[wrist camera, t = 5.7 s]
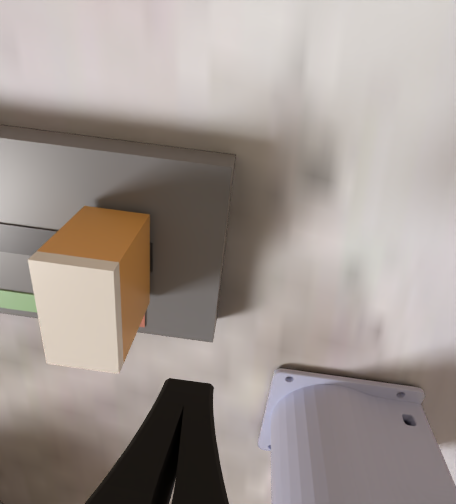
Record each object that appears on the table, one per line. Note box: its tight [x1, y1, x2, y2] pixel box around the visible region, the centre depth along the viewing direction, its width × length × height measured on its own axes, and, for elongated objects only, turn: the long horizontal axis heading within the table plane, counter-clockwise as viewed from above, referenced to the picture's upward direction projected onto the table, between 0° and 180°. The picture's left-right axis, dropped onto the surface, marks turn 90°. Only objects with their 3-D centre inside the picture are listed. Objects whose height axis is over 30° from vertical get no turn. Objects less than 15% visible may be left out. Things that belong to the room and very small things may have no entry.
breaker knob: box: [28, 206, 150, 374], centre depth 17 cm, size 3×5×5 cm, turn 174°
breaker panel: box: [0, 125, 236, 342], centre depth 20 cm, size 16×10×2 cm, turn 84°
